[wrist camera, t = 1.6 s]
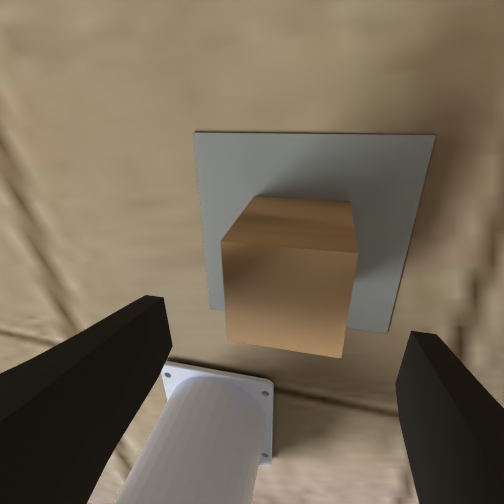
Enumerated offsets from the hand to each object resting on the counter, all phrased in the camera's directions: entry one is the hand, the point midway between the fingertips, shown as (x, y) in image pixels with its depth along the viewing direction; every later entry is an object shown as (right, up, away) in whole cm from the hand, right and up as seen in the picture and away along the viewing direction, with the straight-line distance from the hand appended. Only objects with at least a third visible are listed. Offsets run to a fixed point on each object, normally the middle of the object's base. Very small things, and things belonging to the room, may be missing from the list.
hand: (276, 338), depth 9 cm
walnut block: (+2, +3, +6) cm, 7 cm away
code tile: (+2, +3, +6) cm, 7 cm away
